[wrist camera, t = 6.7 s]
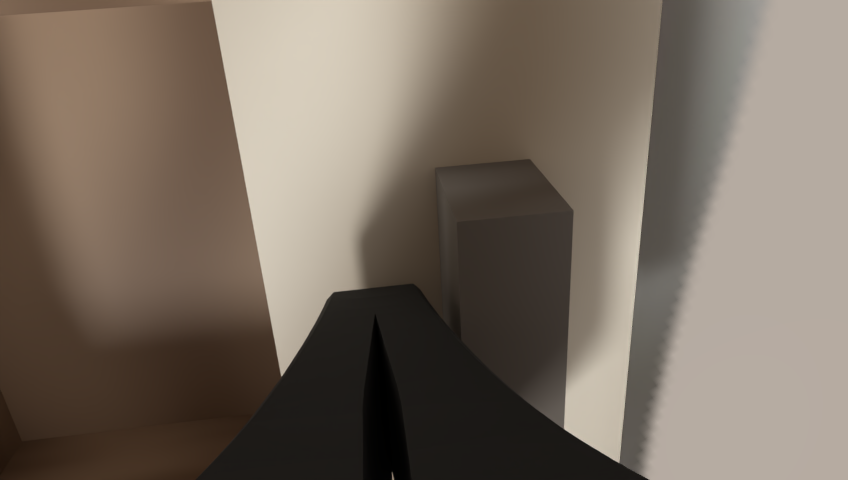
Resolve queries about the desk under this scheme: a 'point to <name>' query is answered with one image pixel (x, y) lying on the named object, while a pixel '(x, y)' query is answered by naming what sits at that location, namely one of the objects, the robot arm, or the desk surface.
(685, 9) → the desk surface
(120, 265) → the walnut box
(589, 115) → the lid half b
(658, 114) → the desk surface
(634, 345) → the desk surface
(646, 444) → the desk surface
